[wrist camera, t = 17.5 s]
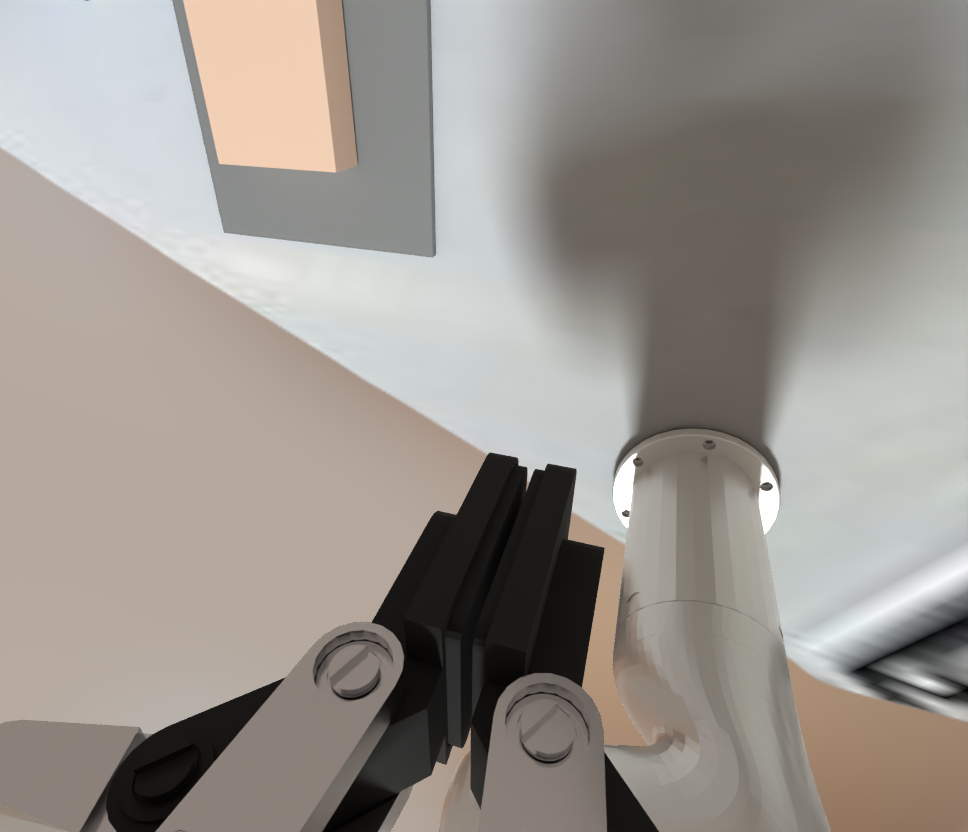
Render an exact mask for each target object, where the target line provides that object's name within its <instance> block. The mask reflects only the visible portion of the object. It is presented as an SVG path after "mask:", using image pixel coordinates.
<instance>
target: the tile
mask: <svg viewBox="0 0 968 832" xmlns="http://www.w3.org/2000/svg"><path fill="white" fill-rule="evenodd" d="M183 2H184V7H185V11H186V16H187V21H188V25H189V30H190V34H191V39H192V43H193V48H194V52H195V57H196V61H197V66H198V70H199V75H200V80H201V84H202V89H203V93H204V98H205V102H206V107H207V111H208V116H209V120H210V125H211V129H212V134H213V139H214V143H215V148H216V152H217V157H218V161H219V164H227V165H240V166H254V167H267V168H281V169H294V170H308V171H321V172H335V173H336V172H340V171H343V170H346V169H349V168H352V167H355V166H358V164H357V153H356V143H355V133H354V123H353V112H352V102H351V92H350V81H349V71H348V61H347V51H346V40H345V30H344V20H343V9H342V0H183Z"/></svg>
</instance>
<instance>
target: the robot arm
mask: <svg viewBox="0 0 968 832" xmlns="http://www.w3.org/2000/svg"><path fill="white" fill-rule="evenodd" d="M707 440H711V441H707ZM575 480H576V469H573V468H568V467H563V466H558V465H553V464H547V466H546V468H545V471H543V470H538V469H535V470H534V472H533V475H532V478H531V481H530V483H529V486H528V489H527V491H526V485H527V467H523V466H518V458H516V457H511V456H505V455H500V454H495V453H489V454H488V455H487V457H486V459H485V461H484V463H483V465H482V467H481V468H480V470H479V472H478V474H477V476H476V478H475V480H474V482H473V484H472V486H471V488H470V490H469V492H468V494H467V496H466V498H465V500H464V502H463V504H462V506H461V508H460V510H459V512H458V513H457V515H454V514H450V513H445V512H440V511H437V512H435V513H434V514H433V516H432V517H431V519H430V521H429V522H428V524H427V526H426V527H425V529H424V531H423V533H422V535H421V536H420V538H419V540H418V542H417V544H416V545H415V547H414V549H413V551H412V552H411V554H410V556H409V557H408V559H407V561H406V563H405V565H404V566H403V568H402V570H401V572H400V574H399V575H398V577H397V579H396V580H395V582H394V584H393V586H392V588H391V589H390V591H389V593H388V595H387V596H386V598H385V600H384V602H383V604H382V605H381V607H380V609H379V610H378V612H377V614H376V616H375V617H374V619H373V621H372V623H370V622H353V623H349V624H346V625H342V626H339V627H337V628H335V629H333V630H331V631H330V632H328V633H326V634H325V635H324V636H322V638H320V639H319V640H318V641H317V642H316V643H315V644H314V645H313V646H312V647H311V648H310V649H309V651H308V652H307V653H306V654H305V655H304V657H303V658H302V659H301V660H300V661H299V663H298V664H297V665H296V666H295V667H294V668H293V670H292V671H291V672H290V673H289V674H288V676H287V677H286V678H283V679H281V680H278V681H276V682H274V683H271V684H269V685H266V686H264V687H262V688H259V689H257V690H254V691H252V692H250V693H247V694H245V695H243V696H240V697H238V698H235V699H233V700H230V701H228V702H226V703H223V704H221V705H218V706H216V707H213V708H211V709H209V710H206V711H204V712H201V713H199V714H197V715H194V716H192V717H189V718H187V719H185V720H182V721H180V722H178V723H175V724H173V725H170V726H168V727H166V728H164V729H162V730H160V731H158V732H157V733H155V734H143V732H142V730H141V729H140V727H128V726H127V727H126V726H112V725H96V724H79V723H64V722H48V721H31V720H18V721H10V722H4V723H2V724H0V832H390V831H391V830H392V828H393V826H394V824H395V822H396V820H397V819H398V817H399V815H400V813H401V811H402V809H403V807H404V806H405V804H406V802H407V800H408V798H409V795H410V793H411V790H412V787H413V785H414V784H415V783H417V782H419V781H421V780H423V779H425V778H427V777H428V776H430V775H431V774H432V771H433V768H434V766H435V763H436V761H437V762H439V763H442V764H445V765H446V764H447V761H448V758H449V755H450V751H451V749H452V746H457V747H459V748H463V747H464V745H465V743H466V740H467V737H468V734H469V730H470V728H471V750H470V751H469V752H468V753H467V754H466V755H465V757H464V758H463V759H462V761H461V762H460V763H459V765H458V767H457V769H456V771H455V773H454V775H453V777H452V779H451V782H450V784H449V788H448V791H447V794H446V797H445V802H444V806H443V810H442V816H441V821H440V828H439V832H831V830H830V827H829V824H828V821H827V818H826V815H825V812H824V809H823V806H822V803H821V800H820V797H819V794H818V791H817V788H816V785H815V781H814V778H813V775H812V771H811V768H810V764H809V761H808V758H807V754H806V750H805V746H804V742H803V738H802V733H801V729H800V724H799V720H798V715H797V710H796V706H795V701H794V697H793V692H792V686H791V680H790V675H789V669H788V664H787V658H786V653H785V647H784V641H783V635H782V630H781V624H780V619H779V613H778V608H777V602H776V596H775V591H774V585H773V579H772V574H771V568H770V562H769V557H768V551H767V545H766V540H765V534H766V533H767V532H768V531H769V530H770V529H771V527H772V525H773V524H774V522H775V520H776V518H777V516H778V512H779V508H780V490H779V485H778V480H777V478H776V476H775V473H774V471H773V468H772V467H771V466H770V464H769V463H768V462H767V460H766V459H765V457H764V456H762V455H761V454H760V453H759V452H758V451H757V450H756V449H755V448H753V447H752V446H750V445H749V444H747V443H745V442H744V441H742V440H740V439H738V438H736V437H733V436H731V435H728V434H725V433H722V432H717V431H713V430H708V429H693V428H689V429H678V430H672V431H668V432H664V433H660V434H657V435H655V436H652V437H650V438H648V439H646V440H644V441H642V442H641V443H639V444H638V445H637V446H635V447H634V448H632V449H631V451H630V452H629V453H628V454H627V455H626V456H625V457H624V458H623V460H622V461H621V463H620V464H619V466H618V468H617V471H616V474H615V477H614V483H613V489H612V492H613V503H614V506H615V509H616V512H617V514H618V516H619V518H620V520H621V521H622V523H623V524H624V525H625V526H626V528H627V537H626V546H625V555H624V563H623V572H622V582H621V590H620V599H619V607H618V616H617V624H616V633H615V642H614V650H613V674H614V681H615V684H616V688H617V691H618V695H619V697H620V700H621V702H622V704H623V706H624V708H625V710H626V712H627V714H628V716H629V718H630V719H631V721H632V722H633V724H634V725H635V727H636V729H637V730H638V732H639V733H640V735H641V736H642V737H643V739H644V740H645V741H646V743H647V744H648V746H628V745H618V746H613V745H604V736H603V735H604V732H603V726H602V721H601V716H600V713H599V711H598V709H597V707H596V705H595V703H594V702H593V700H592V698H591V697H590V696H589V695H588V694H587V693H586V692H585V691H584V690H583V689H582V682H583V677H584V671H585V665H586V658H587V652H588V646H589V640H590V634H591V628H592V622H593V616H594V610H595V603H596V598H597V591H598V585H599V579H600V573H601V567H602V560H603V555H604V548H603V547H598V546H594V545H589V544H585V543H580V542H576V541H571V540H568V532H569V525H570V518H571V510H572V503H573V495H574V488H575Z"/></svg>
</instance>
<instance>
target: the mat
mask: <svg viewBox="0 0 968 832" xmlns="http://www.w3.org/2000/svg"><path fill="white" fill-rule="evenodd" d="M172 1H173V5H174V10H175V14H176V19H177V23H178V28H179V32H180V37H181V41H182V46H183V50H184V55H185V59H186V64H187V68H188V73H189V77H190V82H191V86H192V91H193V95H194V100H195V104H196V109H197V113H198V118H199V122H200V127H201V131H202V136H203V140H204V145H205V149H206V154H207V158H208V163H209V167H210V172H211V176H212V181H213V185H214V190H215V194H216V199H217V203H218V208H219V212H220V217H221V221H222V226H223V230H224V233H231V234H240V235H248V236H257V237H265V238H274V239H282V240H291V241H299V242H307V243H316V244H324V245H333V246H341V247H350V248H358V249H367V250H375V251H383V252H392V253H400V254H409V255H417V256H426V257H434V256H435V255H436V247H435V200H434V153H433V106H432V59H431V12H430V0H342V9H343V20H344V30H345V40H346V51H347V61H348V71H349V81H350V92H351V102H352V112H353V123H354V133H355V143H356V153H357V164H358V166H355V167H352V168H349V169H346V170H343V171H340V172H336V173H335V172H321V171H308V170H294V169H281V168H267V167H254V166H240V165H227V164H219V161H218V157H217V152H216V148H215V143H214V139H213V134H212V129H211V125H210V120H209V116H208V111H207V107H206V102H205V98H204V93H203V89H202V84H201V80H200V75H199V70H198V66H197V61H196V57H195V52H194V48H193V43H192V39H191V34H190V30H189V25H188V21H187V16H186V11H185V7H184V2H183V0H172Z"/></svg>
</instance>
